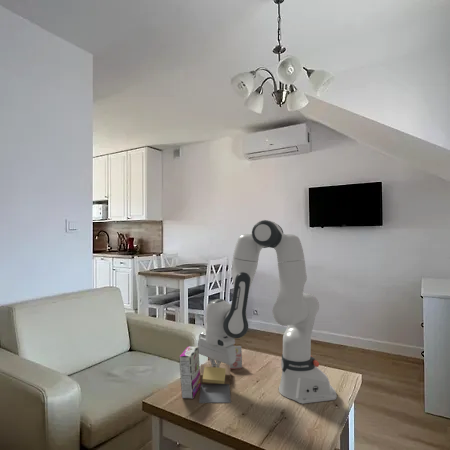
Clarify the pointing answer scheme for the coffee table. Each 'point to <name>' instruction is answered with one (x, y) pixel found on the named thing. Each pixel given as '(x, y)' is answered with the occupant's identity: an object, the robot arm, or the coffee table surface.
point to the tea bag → (237, 359)
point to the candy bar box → (190, 372)
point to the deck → (227, 373)
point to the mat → (215, 393)
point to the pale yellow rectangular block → (214, 375)
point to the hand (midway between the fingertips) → (215, 369)
